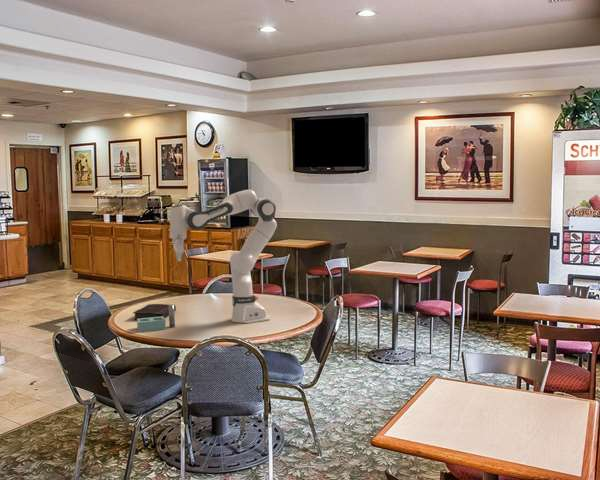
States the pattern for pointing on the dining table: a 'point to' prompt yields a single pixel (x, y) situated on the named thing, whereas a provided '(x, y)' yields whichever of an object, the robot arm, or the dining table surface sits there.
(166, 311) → the diary
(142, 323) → the hole block
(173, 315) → the peg
